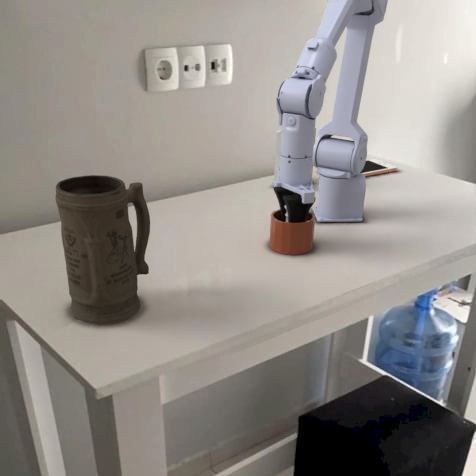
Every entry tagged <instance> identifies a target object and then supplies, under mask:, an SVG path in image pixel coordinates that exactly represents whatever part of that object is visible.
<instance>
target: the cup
mask: <svg viewBox="0 0 476 476" xmlns="http://www.w3.org/2000/svg"><path fill="white" fill-rule="evenodd" d="M269 225H270V228H269V248H270V250H272V251H274V252H276V253H277V254H282V255H287V256H289V255H290V256H297V255H303V254H307V253H309V252H311V251H312V249H313V245H314V236H315V225H316V217H315V214H314V212H311V210H309V212H308V214H307V217H306V220H305V222H301V223H289V222H283V221H282V217H281V211H280V208H278V209H277V210H274V211H272V213H270V223H269Z"/></svg>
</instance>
